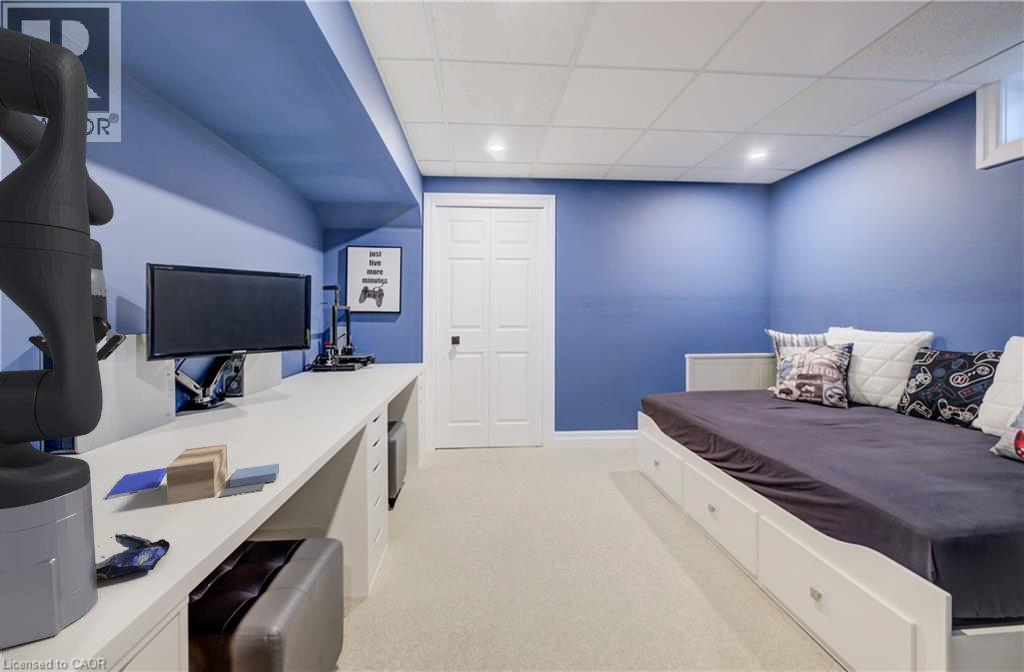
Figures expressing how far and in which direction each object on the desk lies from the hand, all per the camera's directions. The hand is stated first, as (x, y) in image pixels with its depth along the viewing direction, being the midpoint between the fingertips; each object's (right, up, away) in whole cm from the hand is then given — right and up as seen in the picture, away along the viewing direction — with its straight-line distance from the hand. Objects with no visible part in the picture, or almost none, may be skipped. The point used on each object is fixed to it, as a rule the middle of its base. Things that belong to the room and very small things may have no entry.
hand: (82, 384), depth 73 cm
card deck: (+20, -24, +20) cm, 37 cm away
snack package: (+20, -28, -12) cm, 37 cm away
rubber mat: (+18, -26, +19) cm, 37 cm away
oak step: (+10, -26, +15) cm, 32 cm away
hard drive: (-6, -27, +18) cm, 33 cm away
